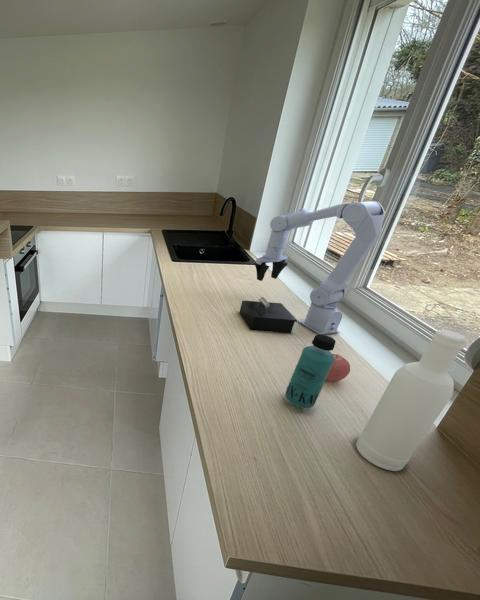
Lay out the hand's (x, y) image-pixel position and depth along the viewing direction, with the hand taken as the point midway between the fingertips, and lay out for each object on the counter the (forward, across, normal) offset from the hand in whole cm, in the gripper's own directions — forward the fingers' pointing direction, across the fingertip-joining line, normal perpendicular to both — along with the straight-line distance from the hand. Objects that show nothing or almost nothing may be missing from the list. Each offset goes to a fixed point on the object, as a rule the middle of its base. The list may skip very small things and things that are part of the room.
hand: (266, 279), depth 131 cm
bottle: (+10, +37, +67) cm, 77 cm away
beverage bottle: (+10, +40, +50) cm, 65 cm away
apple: (+10, +23, +45) cm, 52 cm away
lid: (+5, +14, +15) cm, 21 cm away
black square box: (+10, +14, +15) cm, 23 cm away
